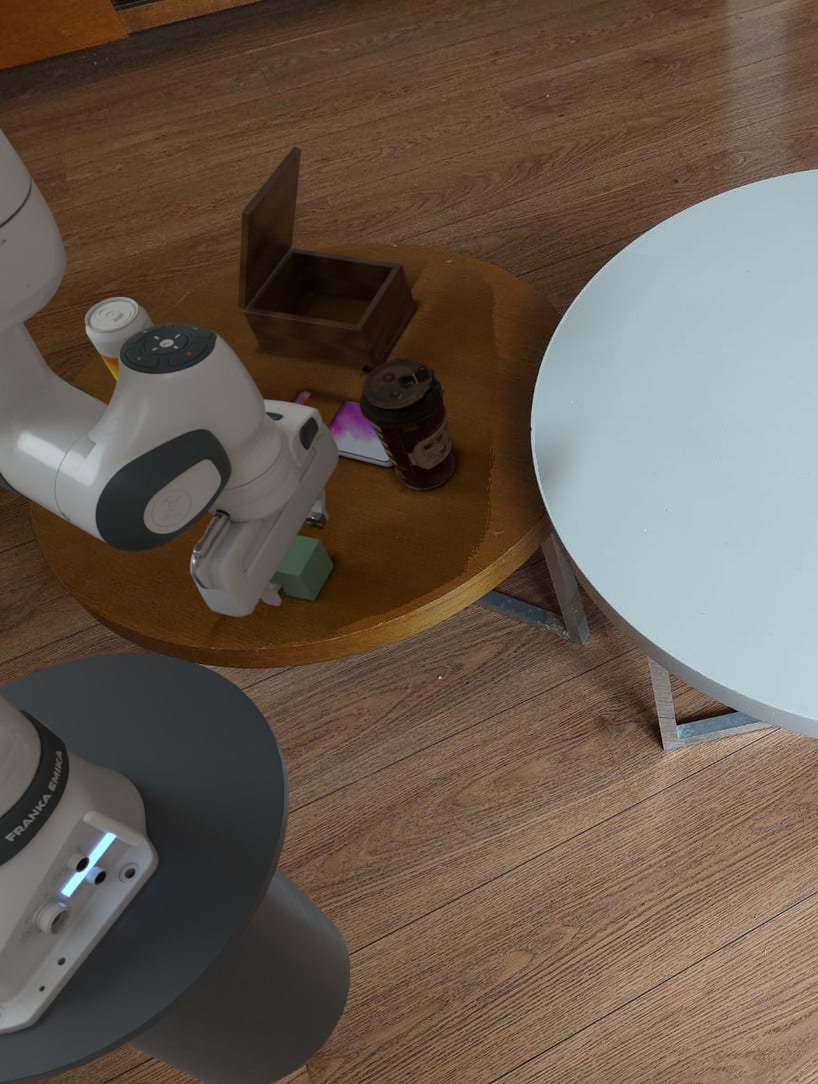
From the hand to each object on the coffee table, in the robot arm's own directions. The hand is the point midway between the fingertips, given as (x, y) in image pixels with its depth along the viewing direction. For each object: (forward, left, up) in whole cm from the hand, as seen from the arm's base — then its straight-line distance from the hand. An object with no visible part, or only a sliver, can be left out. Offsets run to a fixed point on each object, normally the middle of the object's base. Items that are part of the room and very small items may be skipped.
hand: (298, 560), depth 110 cm
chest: (+34, +13, -3) cm, 36 cm away
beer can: (+17, +26, -3) cm, 31 cm away
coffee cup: (+16, -6, -3) cm, 17 cm away
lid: (+34, +16, +12) cm, 39 cm away
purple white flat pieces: (+19, +5, -3) cm, 20 cm away
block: (-1, 0, -3) cm, 3 cm away
